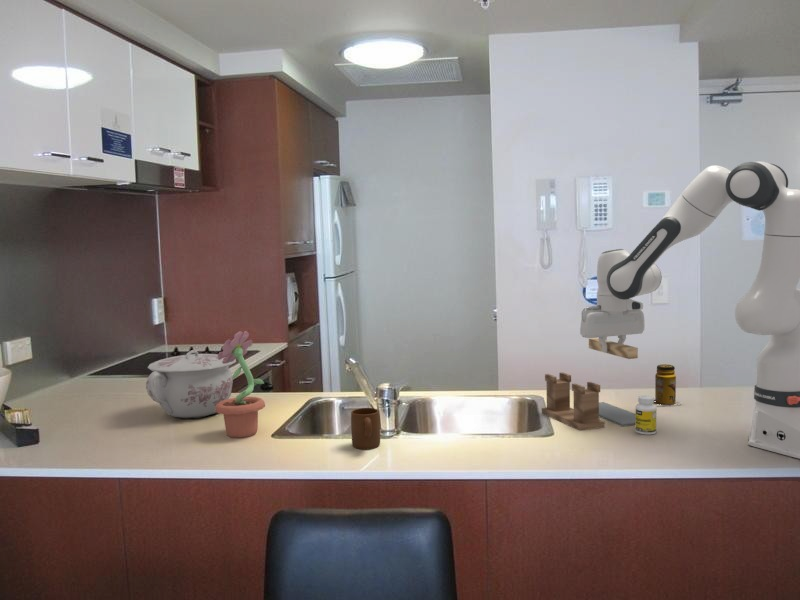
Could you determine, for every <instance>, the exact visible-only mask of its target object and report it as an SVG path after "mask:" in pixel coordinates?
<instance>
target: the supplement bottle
mask: <svg viewBox="0 0 800 600" xmlns="http://www.w3.org/2000/svg"><path fill="white" fill-rule="evenodd" d="M654 397H655V396H651V395H639V396H638V397H637V398H638V399H637V401H638V403H637V404H636V405H635V414H636V422H635V425H634V427H635V428H634V429H635V432H636V433H637V434H641V435H648V436H649V435H650V436H651V435H655V434H656V432H657V406H655V405H653V403H654V400H655V399H654Z"/></svg>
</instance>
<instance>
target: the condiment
mask: <svg viewBox="0 0 800 600" xmlns="http://www.w3.org/2000/svg"><path fill="white" fill-rule="evenodd" d="M654 378H655V383H654V384H655V387H654V388H655V389H654V390H655V394H654V397H655V399H654V401H656V402H654V403H653V405H655V406H656V407H665V406H666V407H668V406H669V405H671V406H680V405H682V404H680V403H679V402H676V401H677V400H676V396H677V395H676V391H677V390H676V389H677V376H676V371H675V365H672V364H658V365H657V366H656V373H655V377H654ZM657 404H659V405H657ZM660 404H661V405H660ZM674 404H676V405H674ZM677 404H678V405H677Z"/></svg>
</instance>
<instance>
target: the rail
mask: <svg viewBox="0 0 800 600" xmlns="http://www.w3.org/2000/svg"><path fill="white" fill-rule="evenodd" d="M605 342H606V344H607V345H609V346H610V348H609V349H610V351H608V352H604V351H602V345H601V343H600V341H599V337H597V338H588V349H591V350H594V351H598V352H601V353H604V354H608V355H613V356H617V357H619V358H624V359H627V360H631V359H633V360H634V359H638V358H639V352H638V351H639V350H638V349H639V348H638V347H635V346H631V345H628V344H625V343H623V344H620V343H618V342H615V341H611V340H609V339H607V340H605Z"/></svg>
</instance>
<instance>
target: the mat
mask: <svg viewBox="0 0 800 600" xmlns="http://www.w3.org/2000/svg"><path fill="white" fill-rule="evenodd" d="M599 418H602V419H604V420H606V421H608V422H611V423H614V424H616V425H619V426H621V427H628V426H635V422H636V413H635V412H632V411H628V410H627V409H624V408H620V407H618V406H616V405H613V404H610V403H608V402H604V401H599Z"/></svg>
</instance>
